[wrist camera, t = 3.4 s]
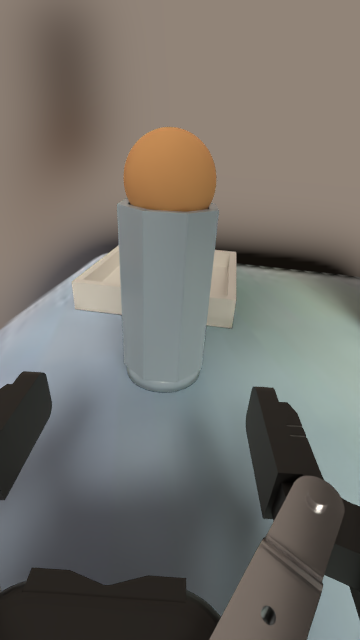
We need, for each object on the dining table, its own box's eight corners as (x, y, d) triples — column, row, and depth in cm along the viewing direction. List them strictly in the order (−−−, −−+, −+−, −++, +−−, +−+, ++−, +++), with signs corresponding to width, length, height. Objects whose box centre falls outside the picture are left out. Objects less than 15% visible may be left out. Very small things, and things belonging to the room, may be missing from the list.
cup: (199, 349, 26) (214, 200, 20) (200, 395, 21) (221, 215, 15) (133, 345, 26) (130, 195, 20) (119, 390, 21) (109, 208, 15)
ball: (185, 218, 22) (190, 132, 19) (228, 235, 18) (242, 130, 15) (113, 221, 19) (108, 124, 17) (145, 242, 15) (144, 119, 13)
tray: (124, 261, 45) (123, 241, 44) (233, 272, 43) (236, 252, 42) (75, 309, 31) (71, 281, 30) (231, 328, 29) (236, 300, 28)
